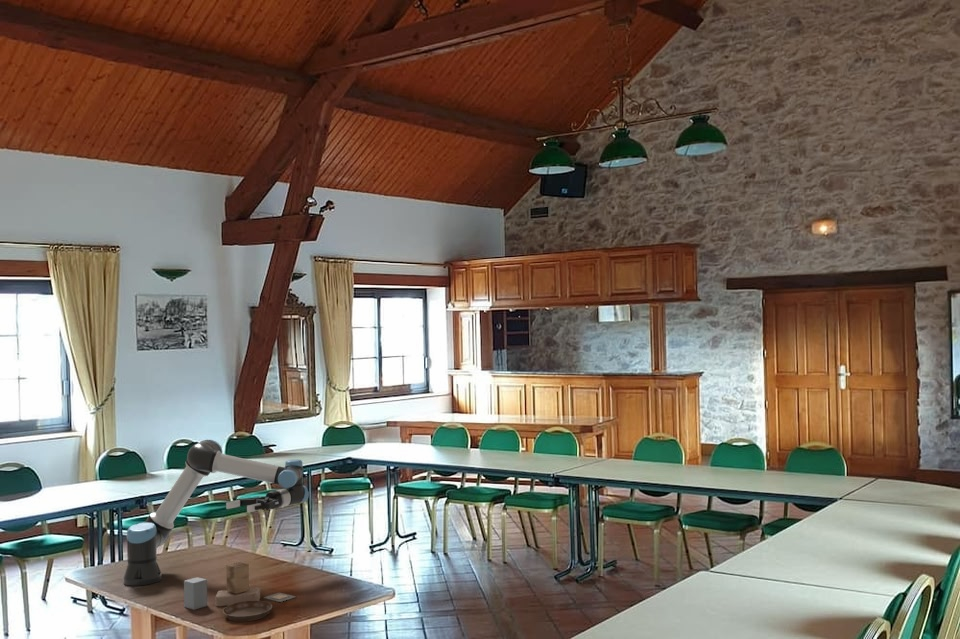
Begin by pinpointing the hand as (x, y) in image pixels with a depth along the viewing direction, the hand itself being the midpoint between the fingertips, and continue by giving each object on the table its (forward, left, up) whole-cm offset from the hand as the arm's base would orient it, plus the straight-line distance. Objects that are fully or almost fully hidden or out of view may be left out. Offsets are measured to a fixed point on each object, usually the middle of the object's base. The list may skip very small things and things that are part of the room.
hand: (236, 507), depth 379 cm
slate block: (+10, -28, -32) cm, 44 cm away
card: (+29, -3, -32) cm, 43 cm away
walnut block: (+19, -15, -28) cm, 37 cm away
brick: (+19, -15, -33) cm, 41 cm away
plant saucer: (+36, -24, -32) cm, 54 cm away
